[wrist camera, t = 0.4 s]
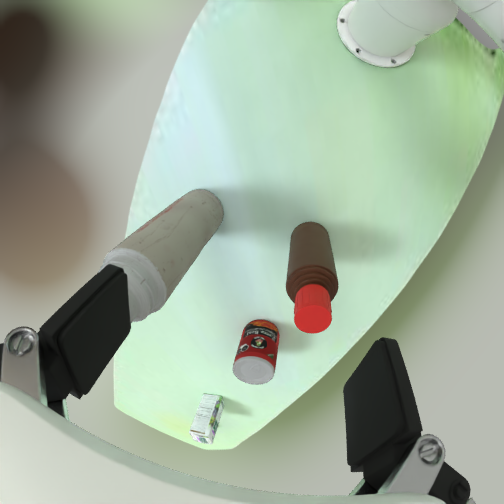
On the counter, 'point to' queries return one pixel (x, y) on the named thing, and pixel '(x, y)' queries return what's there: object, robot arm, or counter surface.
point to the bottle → (311, 260)
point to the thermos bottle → (165, 250)
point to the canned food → (257, 353)
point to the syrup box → (207, 418)
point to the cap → (312, 309)
